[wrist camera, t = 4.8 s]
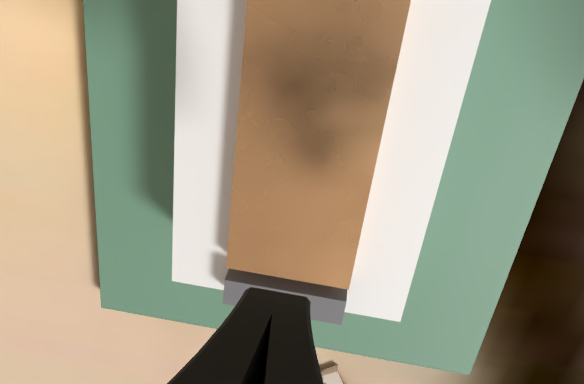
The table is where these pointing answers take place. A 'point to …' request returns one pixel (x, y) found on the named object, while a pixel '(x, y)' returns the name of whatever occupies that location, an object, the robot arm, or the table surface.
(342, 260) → the strip
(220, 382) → the robot arm
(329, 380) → the newspaper
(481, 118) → the board
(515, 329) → the table surface
